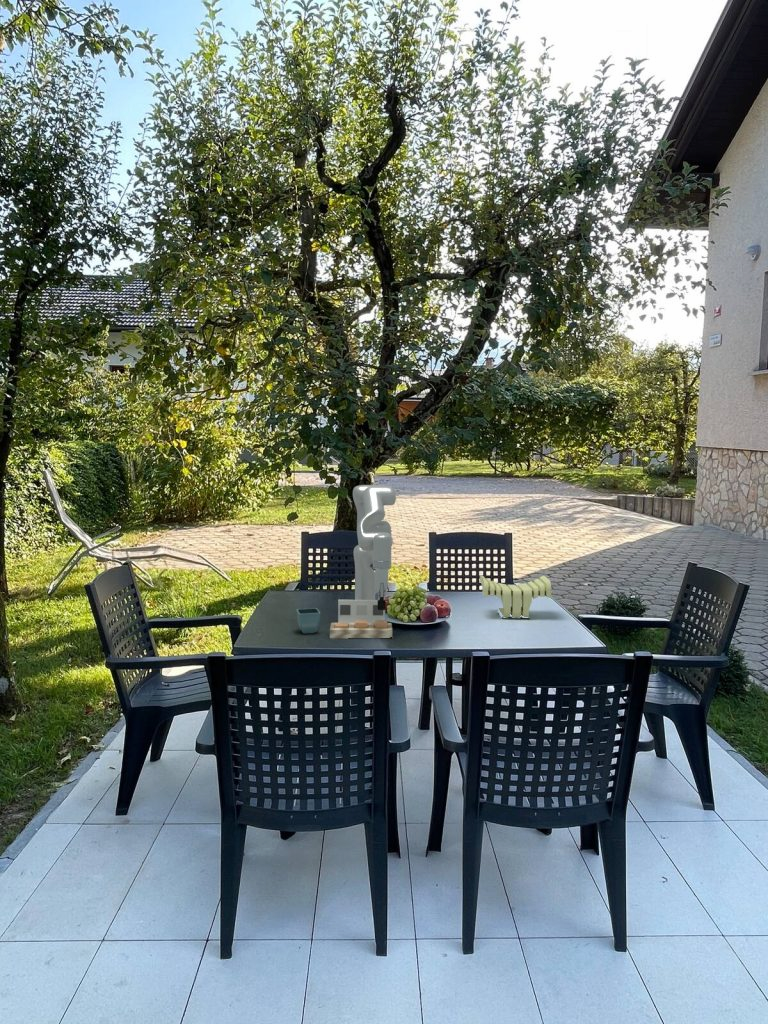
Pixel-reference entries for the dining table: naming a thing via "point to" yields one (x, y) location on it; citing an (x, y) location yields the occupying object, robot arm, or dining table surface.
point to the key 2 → (380, 623)
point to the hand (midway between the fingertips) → (381, 609)
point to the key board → (361, 631)
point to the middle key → (360, 623)
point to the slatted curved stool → (516, 594)
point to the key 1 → (341, 625)
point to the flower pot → (308, 620)
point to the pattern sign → (359, 611)
